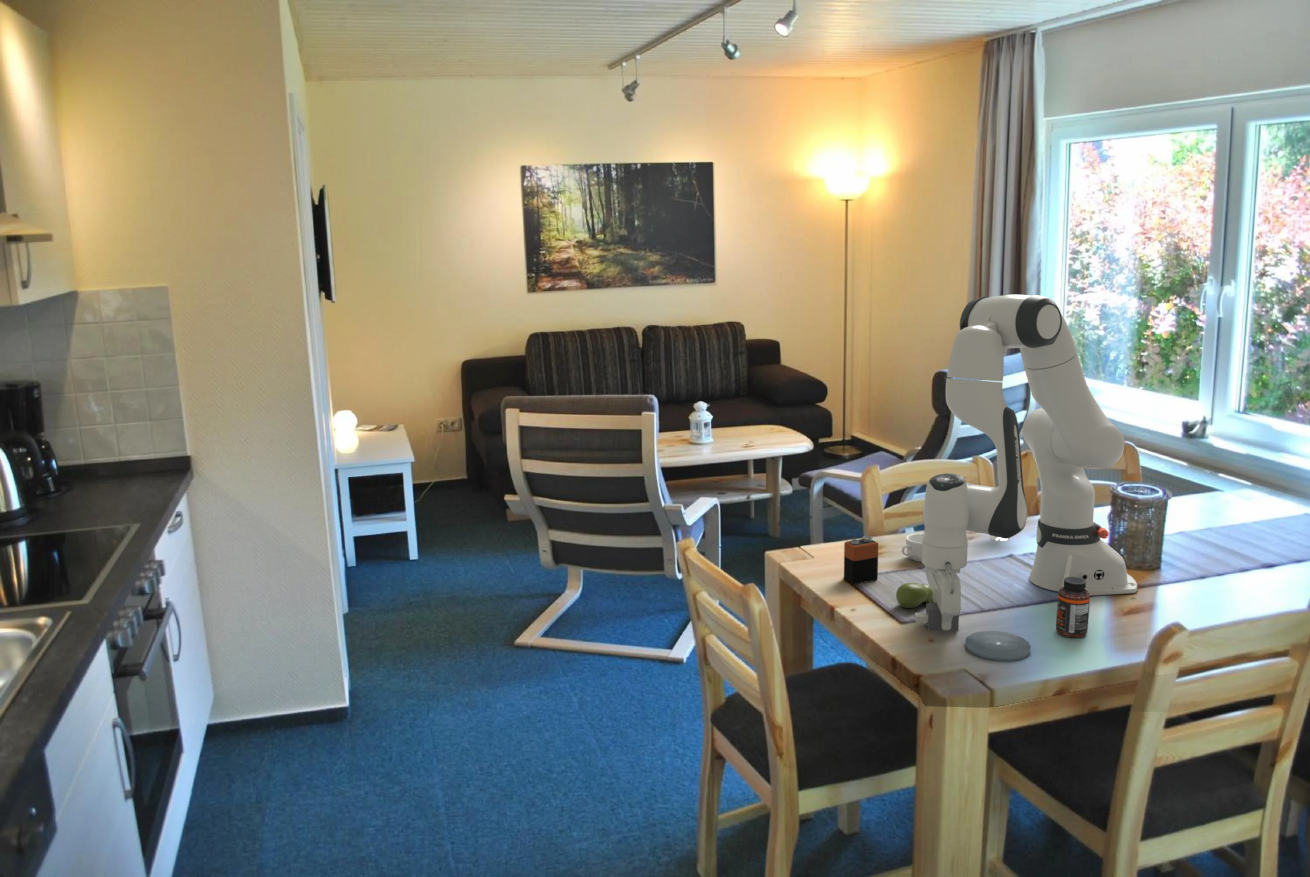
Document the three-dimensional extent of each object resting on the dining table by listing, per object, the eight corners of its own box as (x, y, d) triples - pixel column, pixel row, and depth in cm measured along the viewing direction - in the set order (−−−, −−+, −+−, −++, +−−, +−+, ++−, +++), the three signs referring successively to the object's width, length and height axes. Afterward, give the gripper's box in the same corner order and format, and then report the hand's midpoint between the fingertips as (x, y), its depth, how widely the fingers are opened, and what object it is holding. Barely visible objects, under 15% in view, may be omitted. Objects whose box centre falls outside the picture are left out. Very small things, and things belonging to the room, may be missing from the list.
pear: (892, 580, 224) (923, 578, 229) (889, 604, 224) (919, 601, 230) (912, 588, 219) (943, 585, 225) (909, 612, 220) (940, 608, 226)
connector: (955, 624, 214) (956, 603, 213) (958, 631, 211) (959, 610, 210) (914, 623, 215) (914, 603, 214) (916, 630, 212) (917, 609, 211)
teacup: (923, 552, 258) (924, 531, 257) (945, 561, 251) (945, 539, 250) (891, 559, 254) (892, 537, 252) (912, 568, 247) (913, 546, 246)
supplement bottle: (1050, 628, 211) (1053, 575, 208) (1078, 626, 211) (1082, 573, 209) (1063, 640, 205) (1067, 585, 202) (1093, 638, 205) (1096, 584, 203)
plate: (1022, 636, 207) (1022, 630, 207) (1037, 662, 196) (1037, 656, 195) (960, 635, 208) (960, 629, 208) (971, 660, 197) (972, 654, 197)
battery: (878, 580, 240) (879, 538, 237) (853, 584, 237) (854, 543, 235) (867, 574, 244) (868, 533, 241) (842, 578, 241) (843, 537, 239)
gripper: (970, 573, 199) (967, 640, 202) (951, 539, 219) (949, 601, 222) (936, 572, 200) (934, 639, 203) (921, 539, 219) (919, 600, 222)
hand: (941, 619), depth 212 cm, fingers open, 8 cm apart
